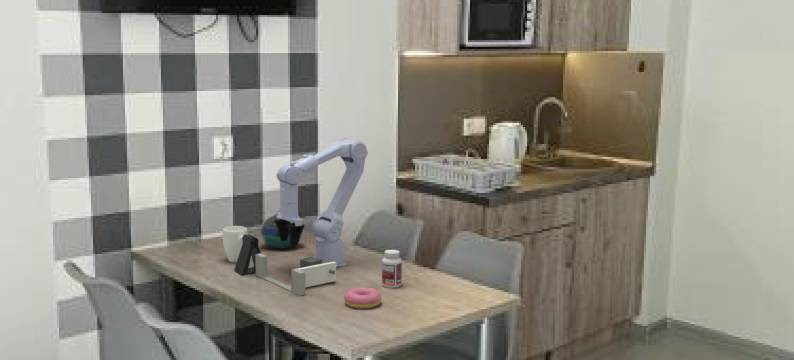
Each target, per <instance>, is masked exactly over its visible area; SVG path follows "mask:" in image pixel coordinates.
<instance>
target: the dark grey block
mask: <svg viewBox="0 0 794 360" xmlns="http://www.w3.org/2000/svg"><path fill="white" fill-rule="evenodd" d="M318 264H322V259H318V258H316V257H313V256H309V257H305V258H302V259H299V268H303V267H308V266H313V265H318Z"/></svg>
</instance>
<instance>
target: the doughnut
mask: <svg viewBox="0 0 794 360" xmlns="http://www.w3.org/2000/svg"><path fill="white" fill-rule="evenodd" d="M343 298H344V302H345V304H346V305H347V306H349V307H351V308H354V309H372V308H376V307H377V306H378V305H380V304H381V300H382V295H381V293H380V291H378V290H377V289H376V288H373V287H367V286H366V287H364V286H363V287H354V288H350V289H348V290H347V291H346V292H345V293H344V295H343Z"/></svg>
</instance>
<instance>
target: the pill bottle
mask: <svg viewBox="0 0 794 360" xmlns="http://www.w3.org/2000/svg"><path fill="white" fill-rule="evenodd" d="M400 253H401V252H400V251H399V250H398V249H386V250H384V253H383V254H384V257H383V258H382V259H381V284H382V286H383V287H385V288H388V289H390V288H391V289H395V288H399V287H401V286H402V281H403V280H402V275H403V274H402V270H403V269H402V268H403V265H402V263H403V260H402V259H401V258H400Z"/></svg>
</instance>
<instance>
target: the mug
mask: <svg viewBox="0 0 794 360" xmlns="http://www.w3.org/2000/svg"><path fill="white" fill-rule="evenodd" d="M245 234H246V235H248V228H247V227H245V226H243V225H231V226H224V227H223V228H222V246H223V249H224V251H225V254H226V257H227V259H228V260H227V261H229V263H235V264H236V263H237V260H238V256H239V253H240V250H241V247H242V243H243V240H242V237H243V235H245Z"/></svg>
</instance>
